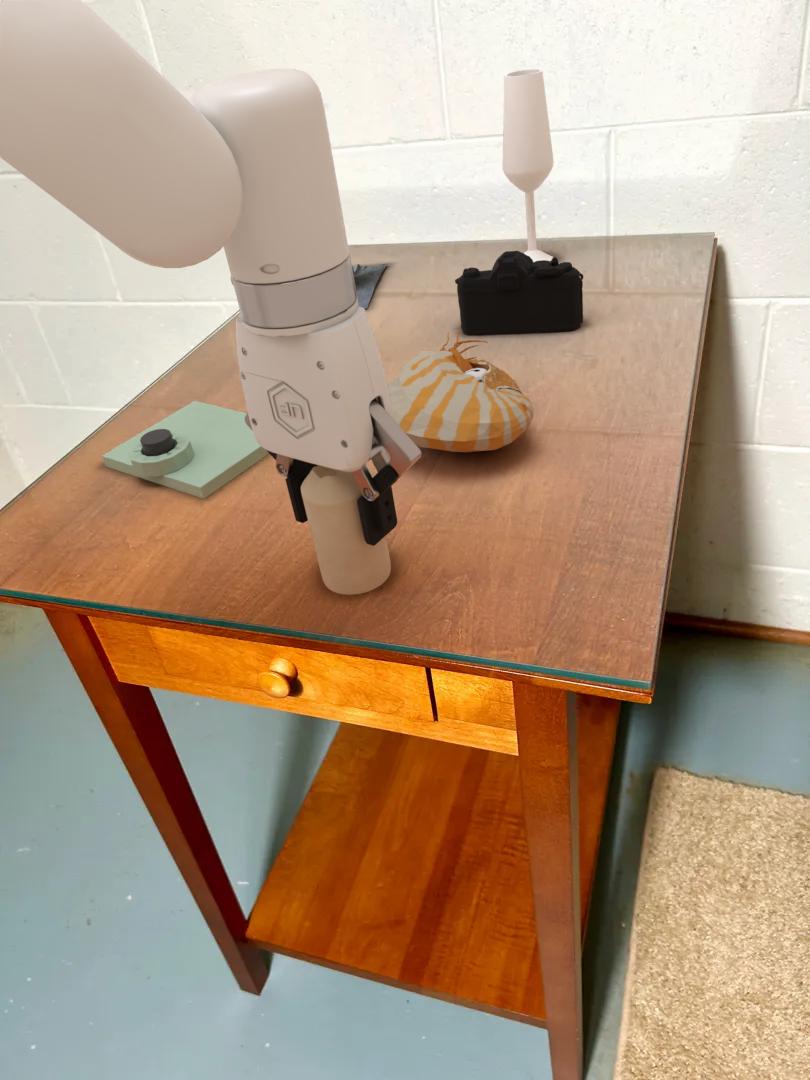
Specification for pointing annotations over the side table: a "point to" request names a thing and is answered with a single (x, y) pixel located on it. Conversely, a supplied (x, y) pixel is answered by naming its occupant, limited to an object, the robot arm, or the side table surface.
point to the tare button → (157, 442)
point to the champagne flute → (527, 142)
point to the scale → (193, 450)
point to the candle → (342, 533)
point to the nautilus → (458, 402)
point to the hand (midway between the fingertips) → (346, 522)
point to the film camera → (520, 297)
